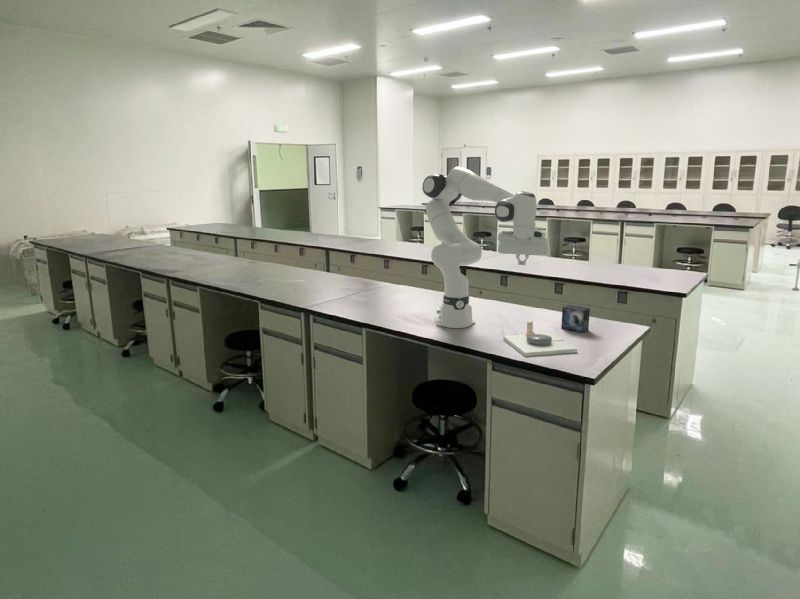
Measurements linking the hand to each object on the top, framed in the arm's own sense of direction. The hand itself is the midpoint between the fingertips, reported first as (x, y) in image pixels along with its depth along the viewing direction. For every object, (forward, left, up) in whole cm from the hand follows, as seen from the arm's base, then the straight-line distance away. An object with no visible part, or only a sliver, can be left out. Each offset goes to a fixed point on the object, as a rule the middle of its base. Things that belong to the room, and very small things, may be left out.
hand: (521, 265), depth 217 cm
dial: (+9, +4, -30) cm, 32 cm away
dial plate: (+12, +4, -32) cm, 34 cm away
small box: (-6, +30, -32) cm, 44 cm away
